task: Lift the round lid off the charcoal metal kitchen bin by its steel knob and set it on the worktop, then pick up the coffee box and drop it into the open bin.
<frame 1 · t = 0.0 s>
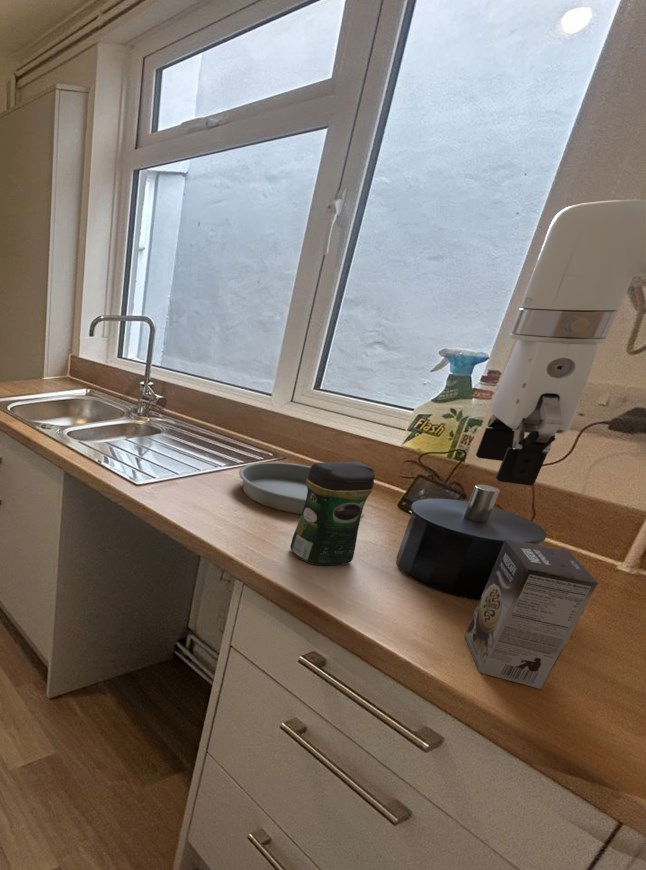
hand: (502, 470, 65), 26 cm above the worktop, tool pointing down, fingers open, 9 cm apart
cake pan: (292, 497, 124), on the worktop
coffee jar: (318, 557, 98), on the worktop
coffee box: (499, 662, 72), on the worktop
bin: (452, 575, 92), on the worktop
bin lid: (473, 521, 88), point 10 cm above the worktop, touching bin
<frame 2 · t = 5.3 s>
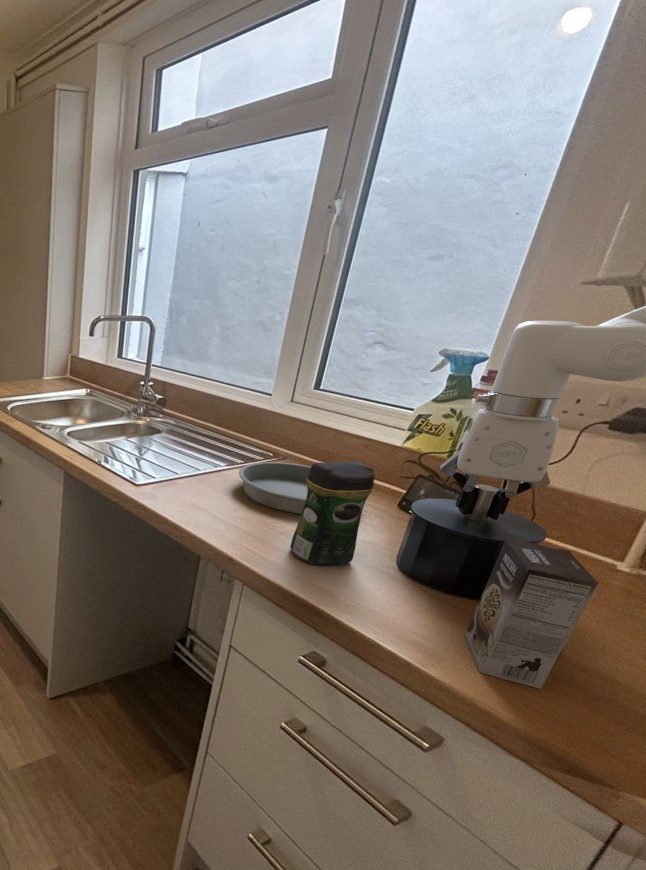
hand: (477, 513, 87), 12 cm above the worktop, tool pointing down, fingers closed on bin lid, 3 cm apart
bin lid: (474, 521, 88), point 11 cm above the worktop, touching bin, gripper
everything else where it was.
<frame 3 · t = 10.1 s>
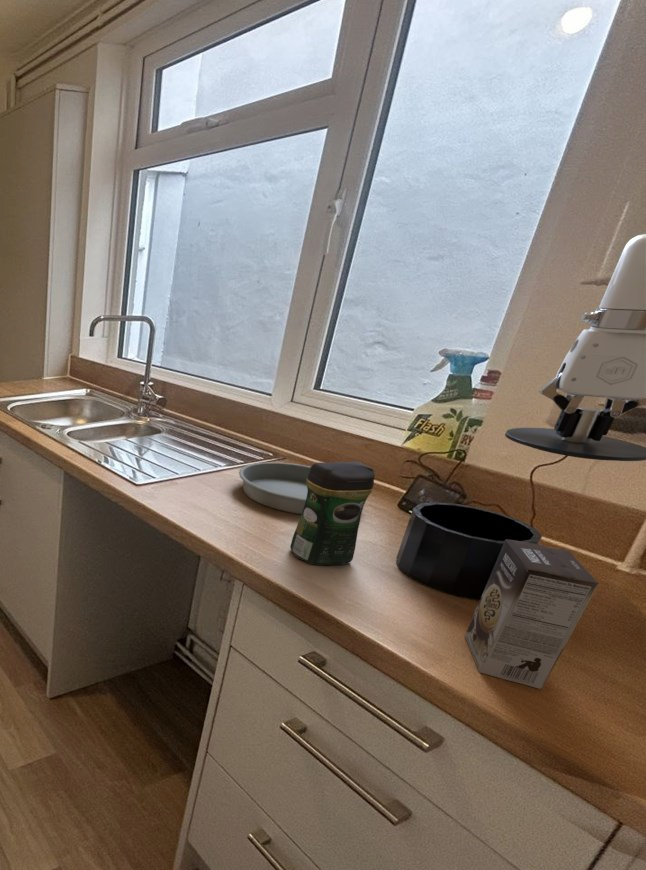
hand: (577, 436, 87), 24 cm above the worktop, tool pointing down, fingers closed on bin lid, 3 cm apart
bin lid: (573, 444, 88), point 22 cm above the worktop, touching gripper
everything else where it was.
when the fingers open (2 cm above the worktop, at t = 14.9 s): bin lid stays where it is, point 1 cm above the worktop.
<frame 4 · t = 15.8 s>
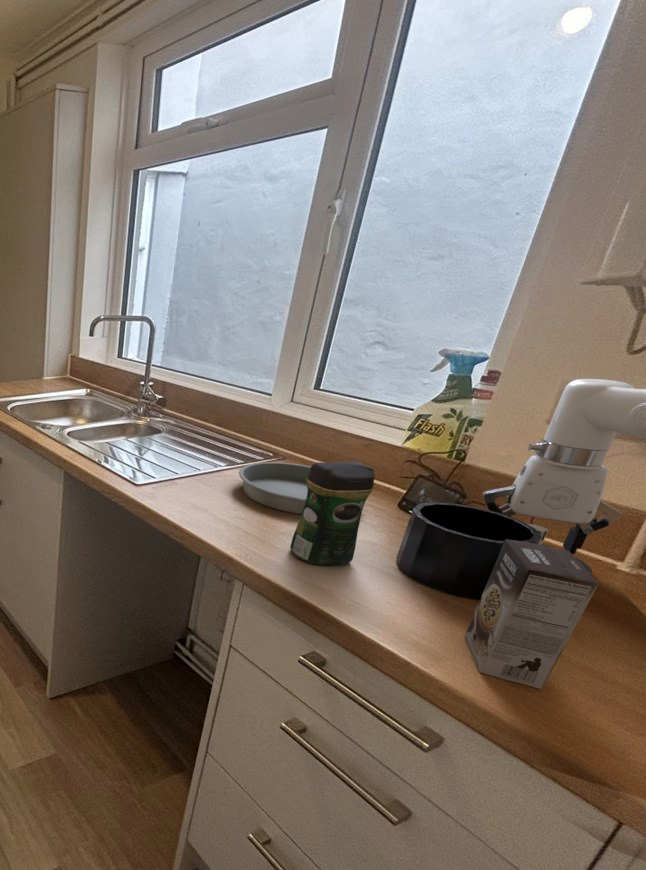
hand: (530, 544, 95), 3 cm above the worktop, tool pointing down, fingers open, 9 cm apart
bin lid: (523, 557, 96), point 1 cm above the worktop
everything else where it was.
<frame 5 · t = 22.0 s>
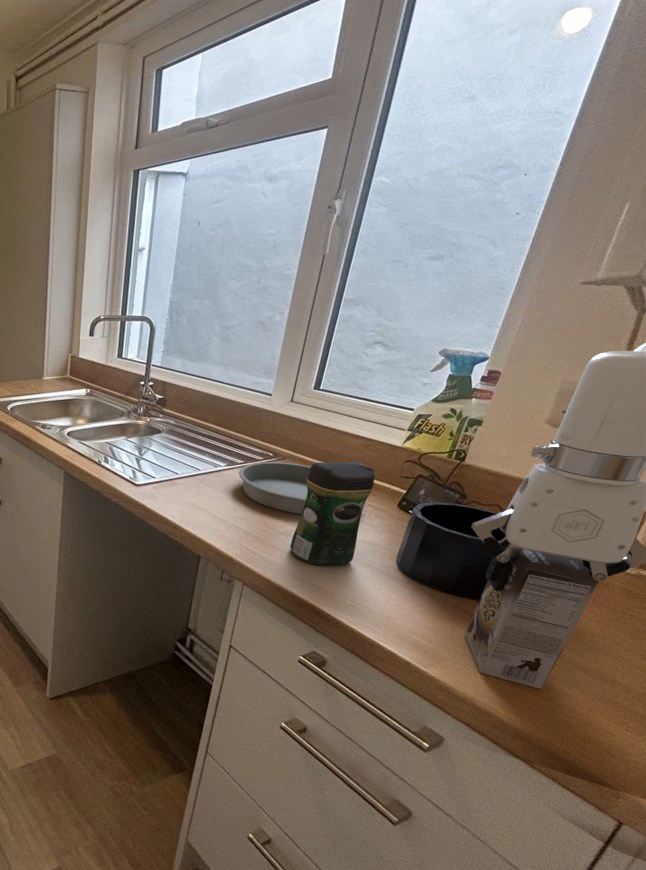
hand: (532, 592, 67), 11 cm above the worktop, tool pointing down, fingers closed on coffee box, 6 cm apart
coffee box: (499, 662, 72), on the worktop, touching gripper
everything else where it was.
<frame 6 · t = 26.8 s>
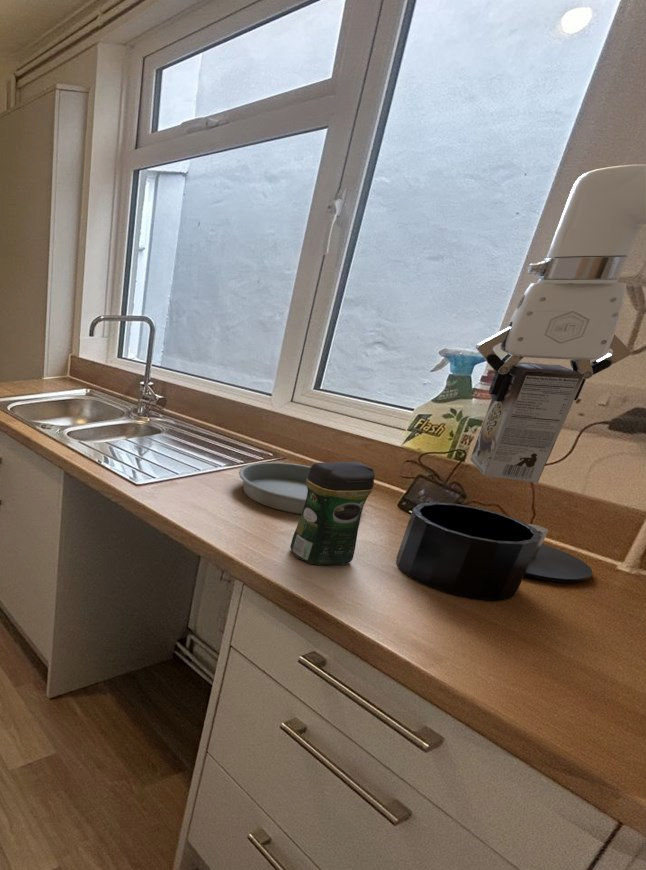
hand: (528, 401, 78), 31 cm above the worktop, tool pointing down, fingers closed on coffee box, 6 cm apart
coffee box: (500, 472, 82), point 20 cm above the worktop, touching gripper
everything else where it was.
when the fingers open (12 cm above the worktop, at t = 31.9 s): coffee box stays where it is, resting on bin.
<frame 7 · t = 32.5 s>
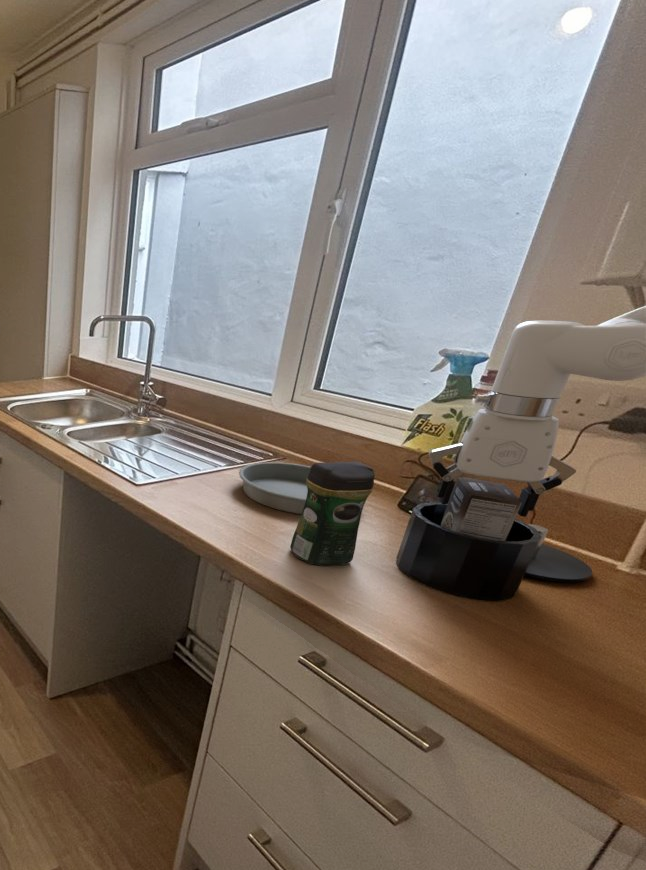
hand: (480, 507, 87), 13 cm above the worktop, tool pointing down, fingers open, 9 cm apart
coffee box: (453, 574, 92), resting on bin
everything else where it was.
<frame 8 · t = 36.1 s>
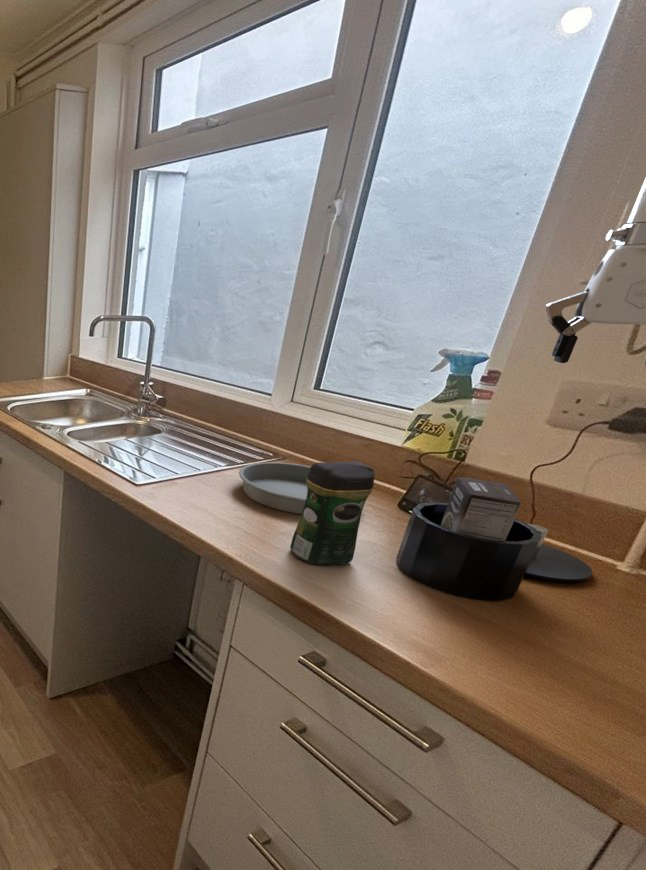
hand: (605, 364, 78), 36 cm above the worktop, tool pointing down, fingers open, 9 cm apart
nothing on the worktop moved.
at the end: bin lid inside the target area (0.1 cm from its centre), point 0.6 cm above the worktop; coffee box inside the target area in the bin (0.1 cm from its centre), point 0.3 cm above the bin's base; the gripper is holding nothing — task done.
